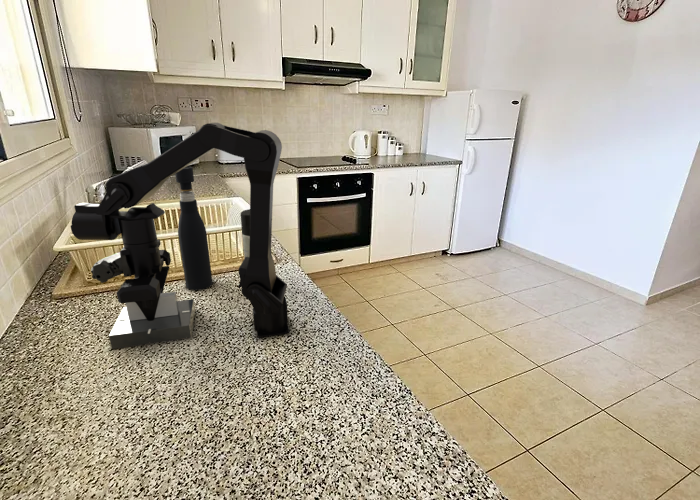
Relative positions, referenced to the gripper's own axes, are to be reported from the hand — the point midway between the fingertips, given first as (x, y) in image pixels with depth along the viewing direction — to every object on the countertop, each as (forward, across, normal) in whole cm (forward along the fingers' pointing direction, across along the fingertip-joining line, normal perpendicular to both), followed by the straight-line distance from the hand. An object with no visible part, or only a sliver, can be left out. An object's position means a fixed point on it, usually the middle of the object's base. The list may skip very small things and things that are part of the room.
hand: (154, 311), depth 76 cm
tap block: (+4, 0, 0) cm, 4 cm away
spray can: (+4, -14, +22) cm, 26 cm away
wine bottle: (+4, -19, +7) cm, 21 cm away
